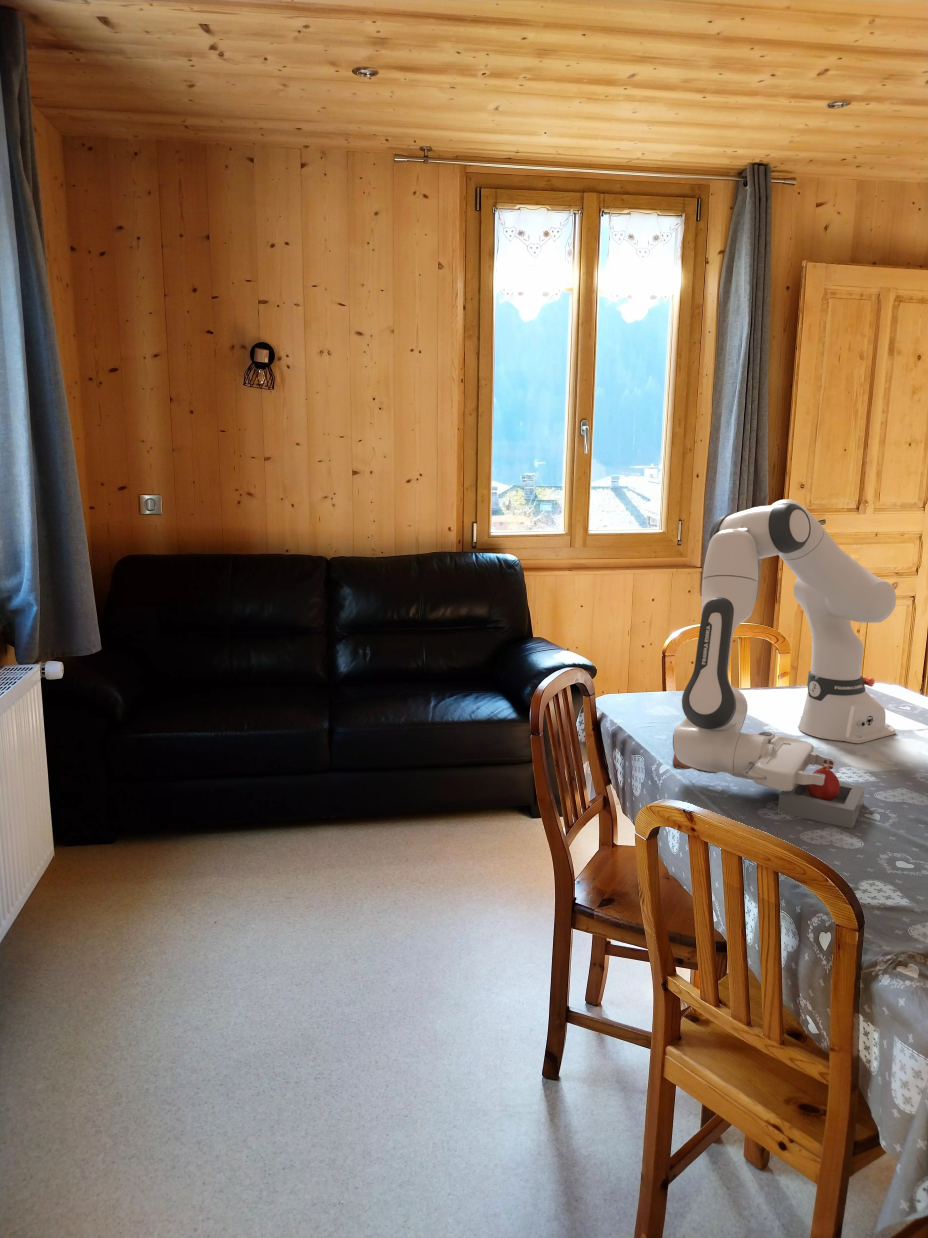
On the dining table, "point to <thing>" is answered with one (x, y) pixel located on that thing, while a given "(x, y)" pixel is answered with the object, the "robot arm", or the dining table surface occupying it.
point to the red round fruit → (825, 785)
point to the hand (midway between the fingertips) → (829, 772)
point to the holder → (824, 805)
